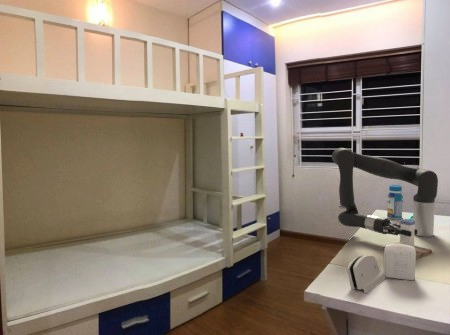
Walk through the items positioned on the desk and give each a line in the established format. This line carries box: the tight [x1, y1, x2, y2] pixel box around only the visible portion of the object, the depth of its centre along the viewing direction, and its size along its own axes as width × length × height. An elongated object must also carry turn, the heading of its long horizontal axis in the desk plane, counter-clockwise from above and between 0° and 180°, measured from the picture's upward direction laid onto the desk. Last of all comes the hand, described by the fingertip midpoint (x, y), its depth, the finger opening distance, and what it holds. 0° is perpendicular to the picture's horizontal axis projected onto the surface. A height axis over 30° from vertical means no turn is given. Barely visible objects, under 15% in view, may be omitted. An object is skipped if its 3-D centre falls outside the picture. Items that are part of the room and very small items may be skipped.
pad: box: [382, 241, 433, 260], centre depth 143 cm, size 14×14×1 cm
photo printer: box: [382, 243, 417, 281], centre depth 117 cm, size 10×4×12 cm, turn 72°
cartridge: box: [399, 218, 416, 247], centre depth 142 cm, size 4×4×12 cm
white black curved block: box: [346, 254, 386, 294], centre depth 114 cm, size 17×5×10 cm, turn 133°
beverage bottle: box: [386, 184, 404, 220], centre depth 199 cm, size 8×8×20 cm
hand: (413, 233), depth 140 cm, fingers closed on cartridge, 4 cm apart
